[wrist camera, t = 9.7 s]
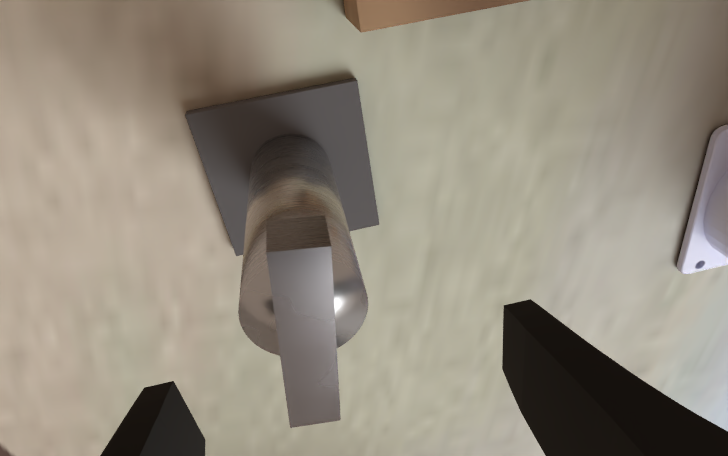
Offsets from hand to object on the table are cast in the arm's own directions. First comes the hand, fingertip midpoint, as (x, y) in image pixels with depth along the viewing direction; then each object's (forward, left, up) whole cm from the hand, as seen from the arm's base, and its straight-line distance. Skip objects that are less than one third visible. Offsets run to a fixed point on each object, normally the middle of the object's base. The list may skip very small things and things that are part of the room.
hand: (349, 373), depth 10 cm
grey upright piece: (+1, -1, -9) cm, 9 cm away
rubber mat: (+1, -1, -10) cm, 10 cm away
